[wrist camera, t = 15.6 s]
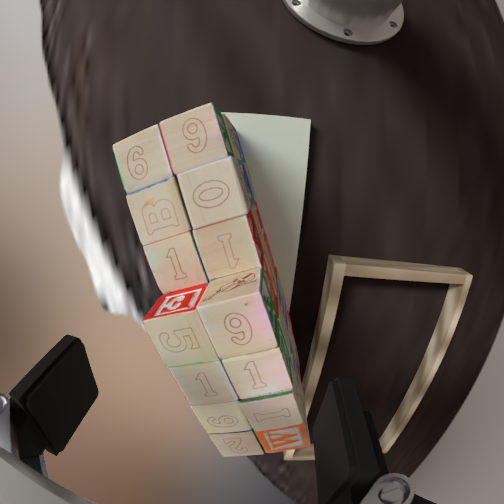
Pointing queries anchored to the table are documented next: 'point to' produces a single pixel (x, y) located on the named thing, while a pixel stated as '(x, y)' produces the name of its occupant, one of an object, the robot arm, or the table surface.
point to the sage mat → (277, 182)
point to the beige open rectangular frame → (434, 352)
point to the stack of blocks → (214, 283)
